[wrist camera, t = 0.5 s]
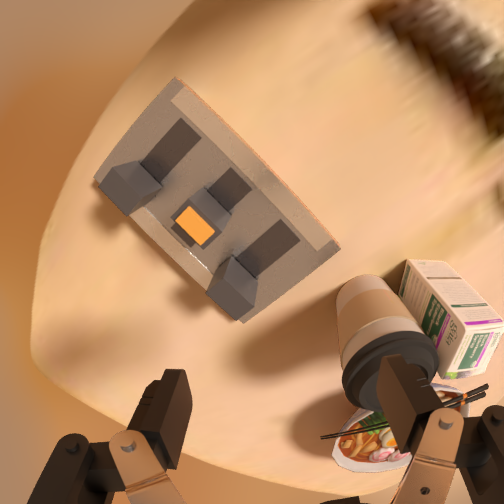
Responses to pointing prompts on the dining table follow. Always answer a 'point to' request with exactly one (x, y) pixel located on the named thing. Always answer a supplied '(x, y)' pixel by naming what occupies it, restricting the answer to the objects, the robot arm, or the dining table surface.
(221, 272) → the block
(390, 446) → the ramen bowl
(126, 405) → the dining table surface
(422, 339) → the coffee cup
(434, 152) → the dining table surface
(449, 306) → the syrup box
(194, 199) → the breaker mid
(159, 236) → the panel
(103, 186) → the block
